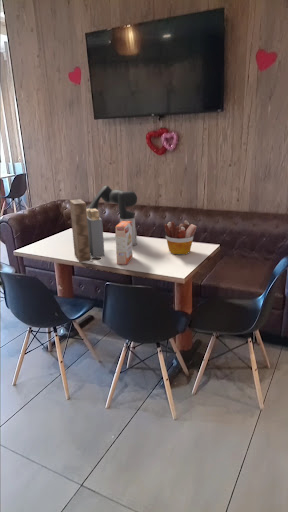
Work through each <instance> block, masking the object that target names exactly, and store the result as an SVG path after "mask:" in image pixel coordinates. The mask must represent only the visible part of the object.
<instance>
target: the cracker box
mask: <svg viewBox="0 0 288 512" xmlns="http://www.w3.org/2000/svg"><path fill="white" fill-rule="evenodd" d="M115 249H116V250H115V251H116V264H117V265H126V266H127V265H128V263H129V262H130V261H131V259H132V258H133V254H134V253H133V246H132V221H122V222H120V221H119V223H118V224H116V226H115Z"/></svg>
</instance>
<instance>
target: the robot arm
mask: <svg viewBox="0 0 288 512" xmlns="http://www.w3.org/2000/svg"><path fill="white" fill-rule="evenodd" d="M101 199H102V200H103V201H104V203H107V204H116V205H118V214H119V223H120V222H122V221H132V247H133V246H136V245H137V244H138V241H137V239H138V237H137V229H136V222H135V221H136V218H135V217H136V216H135V212H133V211H129V210H127V207H128V208H129V207H130V208H131V207H134V206H136V204H138V203H137V202H138V196H137V194H136V192H134V191H132V190H128V191H125V190H120V189H113V190H112V188H111V187H110V186H109V185H104V186H102V188H100V189H99V191H98V193H97V194H96V195H95V197H94V198H93V200H92V201H91V203H90V205H89V206H88V207H86V209H97V210H98V209H99V203H100V201H101ZM98 211H99V210H98Z"/></svg>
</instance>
